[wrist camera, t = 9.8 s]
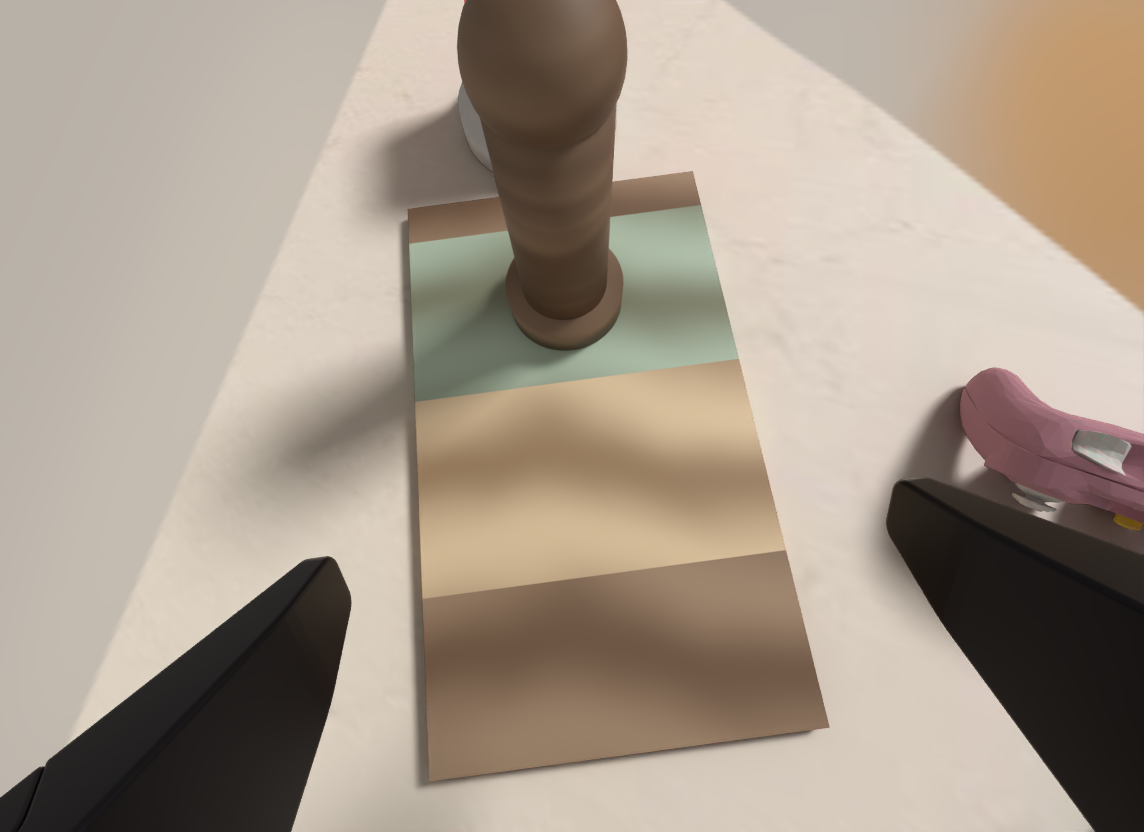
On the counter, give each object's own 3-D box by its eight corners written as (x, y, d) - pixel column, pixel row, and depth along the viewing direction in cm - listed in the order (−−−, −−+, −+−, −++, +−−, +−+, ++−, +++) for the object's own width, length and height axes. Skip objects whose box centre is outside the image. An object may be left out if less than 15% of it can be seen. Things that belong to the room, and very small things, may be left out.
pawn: (611, 358, 22) (639, 69, 9) (499, 341, 22) (379, 41, 10) (629, 260, 23) (674, -110, 11) (523, 245, 24) (446, -126, 11)
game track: (821, 722, 18) (829, 727, 17) (434, 774, 18) (429, 781, 17) (690, 180, 25) (692, 171, 24) (411, 217, 25) (407, 209, 24)
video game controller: (913, 458, 22) (1017, 508, 15) (964, 360, 21) (1096, 368, 15) (1157, 546, 21) (1390, 643, 14) (1222, 445, 20) (1503, 498, 13)
